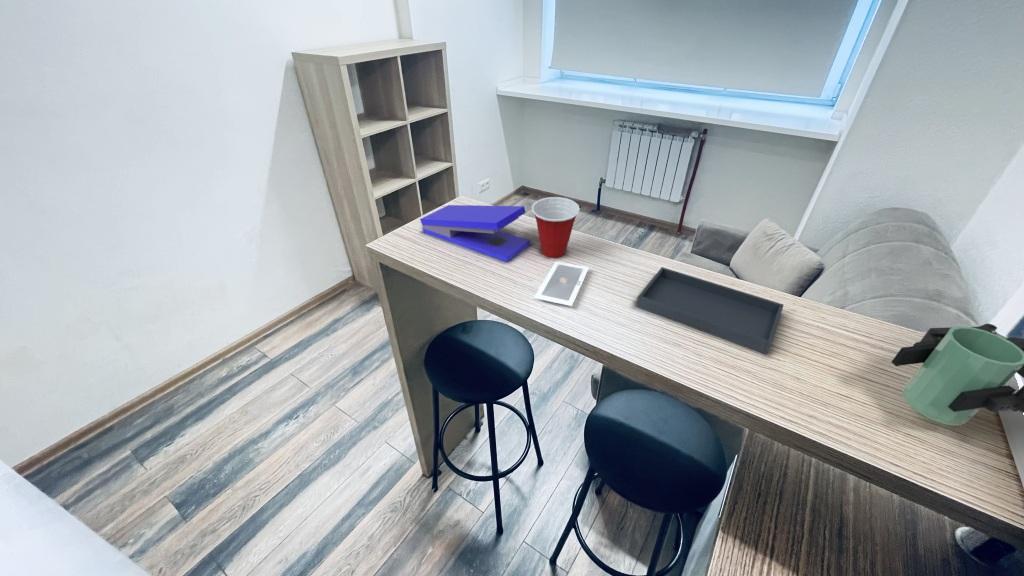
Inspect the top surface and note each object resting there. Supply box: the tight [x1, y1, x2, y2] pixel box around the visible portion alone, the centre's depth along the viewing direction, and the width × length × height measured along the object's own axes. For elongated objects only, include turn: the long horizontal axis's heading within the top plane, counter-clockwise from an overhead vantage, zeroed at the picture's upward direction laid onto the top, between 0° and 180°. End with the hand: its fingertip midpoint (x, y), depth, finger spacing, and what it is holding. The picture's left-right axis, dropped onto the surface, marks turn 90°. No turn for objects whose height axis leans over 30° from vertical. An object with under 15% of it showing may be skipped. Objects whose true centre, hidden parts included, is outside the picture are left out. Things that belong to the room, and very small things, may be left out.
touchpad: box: [533, 260, 590, 307], centre depth 86 cm, size 8×15×2 cm, turn 158°
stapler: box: [420, 204, 531, 263], centre depth 102 cm, size 12×28×10 cm, turn 55°
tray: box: [635, 266, 784, 355], centre depth 78 cm, size 23×13×2 cm, turn 54°
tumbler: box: [901, 325, 1024, 426], centre depth 52 cm, size 7×7×11 cm
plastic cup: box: [531, 196, 581, 259], centre depth 95 cm, size 11×11×12 cm
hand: (926, 378), depth 51 cm, fingers closed on tumbler, 7 cm apart
